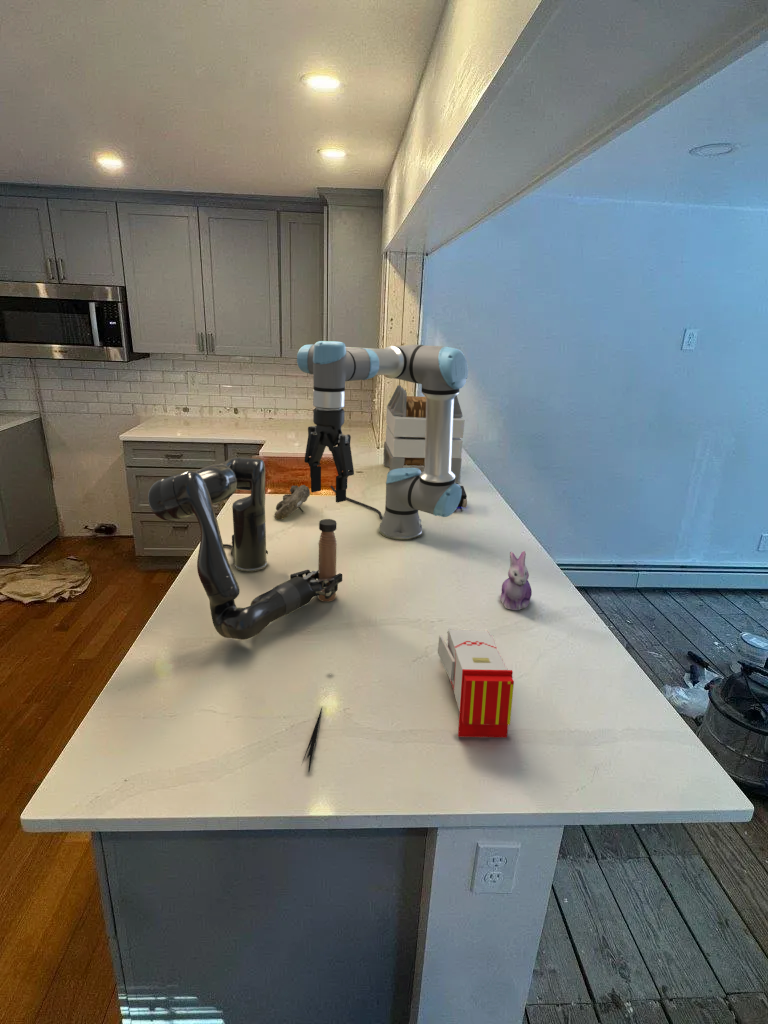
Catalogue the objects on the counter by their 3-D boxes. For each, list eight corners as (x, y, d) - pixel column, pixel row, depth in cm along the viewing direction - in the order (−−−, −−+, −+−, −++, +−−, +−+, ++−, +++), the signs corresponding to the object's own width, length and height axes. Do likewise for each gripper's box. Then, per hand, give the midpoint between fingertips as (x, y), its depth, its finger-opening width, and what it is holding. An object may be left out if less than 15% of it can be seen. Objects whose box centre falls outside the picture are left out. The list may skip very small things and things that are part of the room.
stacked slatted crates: (382, 463, 289) (386, 382, 275) (445, 464, 293) (451, 384, 279) (390, 482, 257) (394, 392, 243) (460, 483, 261) (468, 394, 247)
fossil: (279, 491, 226) (308, 470, 221) (295, 509, 228) (323, 489, 223) (264, 515, 206) (294, 493, 201) (281, 534, 209) (312, 514, 204)
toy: (488, 613, 130) (523, 677, 101) (484, 667, 133) (517, 744, 104) (435, 612, 130) (455, 676, 101) (432, 666, 133) (451, 743, 103)
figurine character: (467, 516, 223) (461, 500, 237) (469, 499, 220) (463, 483, 233) (450, 516, 223) (446, 499, 236) (452, 498, 220) (447, 483, 233)
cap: (339, 528, 148) (339, 521, 148) (330, 533, 145) (330, 526, 144) (325, 524, 150) (325, 517, 150) (315, 529, 147) (315, 522, 146)
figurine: (514, 615, 149) (521, 563, 144) (490, 597, 158) (496, 548, 153) (541, 608, 153) (549, 557, 148) (516, 591, 162) (523, 543, 157)
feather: (331, 679, 122) (336, 673, 122) (307, 777, 96) (313, 769, 95) (324, 675, 122) (329, 669, 121) (298, 772, 95) (304, 764, 95)
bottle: (339, 596, 155) (340, 522, 148) (329, 603, 151) (330, 528, 144) (324, 591, 157) (325, 518, 150) (314, 598, 153) (315, 524, 146)
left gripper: (310, 592, 136) (354, 568, 149) (268, 574, 144) (314, 554, 157) (310, 619, 139) (354, 594, 152) (269, 600, 146) (314, 578, 160)
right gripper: (371, 413, 132) (368, 504, 140) (313, 400, 147) (313, 483, 154) (346, 416, 127) (344, 510, 135) (289, 402, 142) (290, 488, 149)
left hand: (333, 573), depth 154 cm, fingers closed on bottle, 4 cm apart
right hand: (328, 496), depth 144 cm, fingers open, 9 cm apart
